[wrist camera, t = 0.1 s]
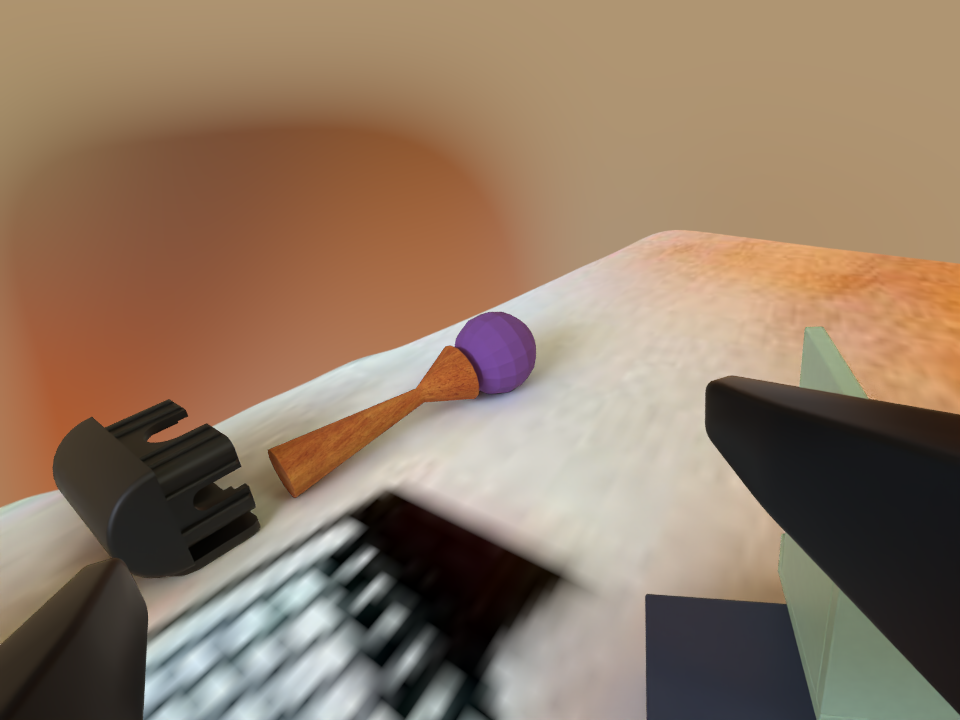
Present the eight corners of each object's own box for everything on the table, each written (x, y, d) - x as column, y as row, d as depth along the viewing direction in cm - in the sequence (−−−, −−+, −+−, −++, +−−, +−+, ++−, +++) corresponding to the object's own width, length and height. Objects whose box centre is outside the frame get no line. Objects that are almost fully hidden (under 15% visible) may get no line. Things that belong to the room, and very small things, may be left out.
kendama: (247, 422, 39) (490, 298, 48) (286, 500, 41) (512, 366, 50) (275, 441, 34) (539, 300, 43) (318, 530, 36) (561, 375, 45)
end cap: (82, 534, 37) (32, 440, 34) (195, 474, 42) (159, 386, 39) (141, 613, 31) (85, 506, 28) (268, 532, 35) (231, 431, 32)
